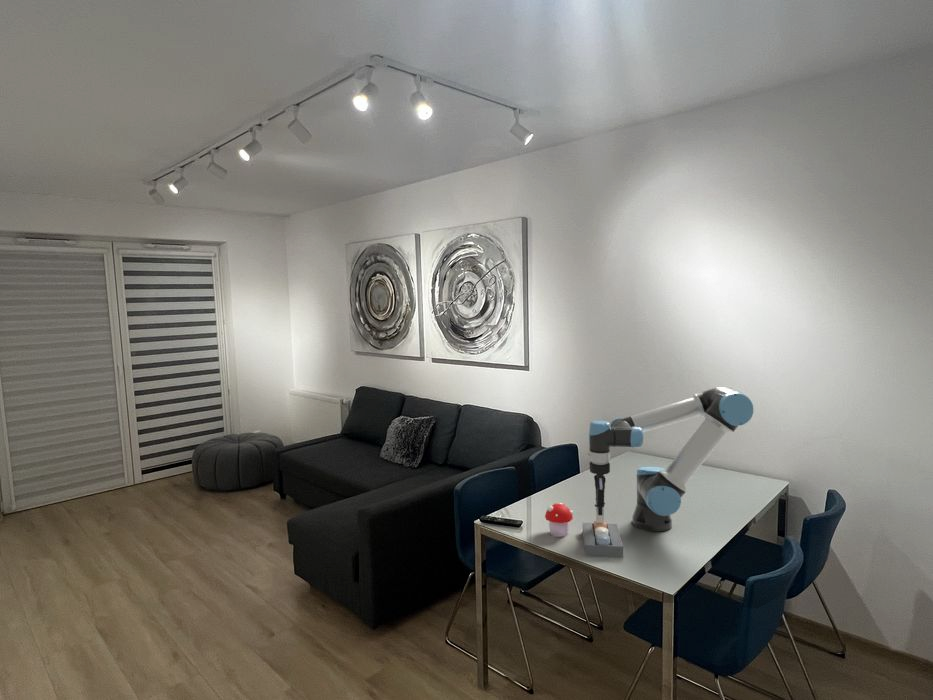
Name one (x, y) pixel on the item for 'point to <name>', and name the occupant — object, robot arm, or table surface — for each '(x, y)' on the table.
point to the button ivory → (601, 531)
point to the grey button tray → (602, 550)
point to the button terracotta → (600, 525)
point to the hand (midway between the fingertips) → (599, 522)
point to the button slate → (602, 539)
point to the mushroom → (558, 519)
